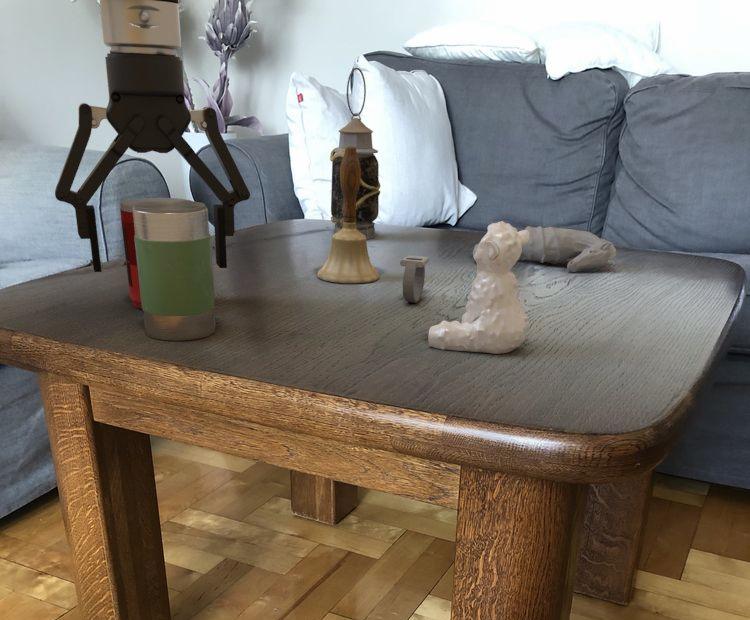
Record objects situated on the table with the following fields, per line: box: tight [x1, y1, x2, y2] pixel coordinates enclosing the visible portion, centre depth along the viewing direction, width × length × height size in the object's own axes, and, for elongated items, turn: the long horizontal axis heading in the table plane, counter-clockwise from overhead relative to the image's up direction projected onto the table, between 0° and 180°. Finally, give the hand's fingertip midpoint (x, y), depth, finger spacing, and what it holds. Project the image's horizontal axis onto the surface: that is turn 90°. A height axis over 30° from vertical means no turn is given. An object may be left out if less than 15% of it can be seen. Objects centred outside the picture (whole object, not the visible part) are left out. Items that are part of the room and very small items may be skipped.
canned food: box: [119, 197, 192, 310], centre depth 91 cm, size 8×8×11 cm
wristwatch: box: [399, 255, 430, 304], centre depth 96 cm, size 6×3×5 cm, turn 164°
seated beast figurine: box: [427, 220, 530, 355], centre depth 79 cm, size 10×9×12 cm
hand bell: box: [316, 146, 381, 285], centre depth 105 cm, size 8×8×16 cm
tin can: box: [133, 200, 216, 342], centre depth 81 cm, size 7×7×12 cm
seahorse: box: [472, 225, 617, 273], centre depth 118 cm, size 5×12×20 cm
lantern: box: [329, 67, 381, 241], centre depth 131 cm, size 9×8×25 cm
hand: (160, 268), depth 92 cm, fingers open, 13 cm apart
